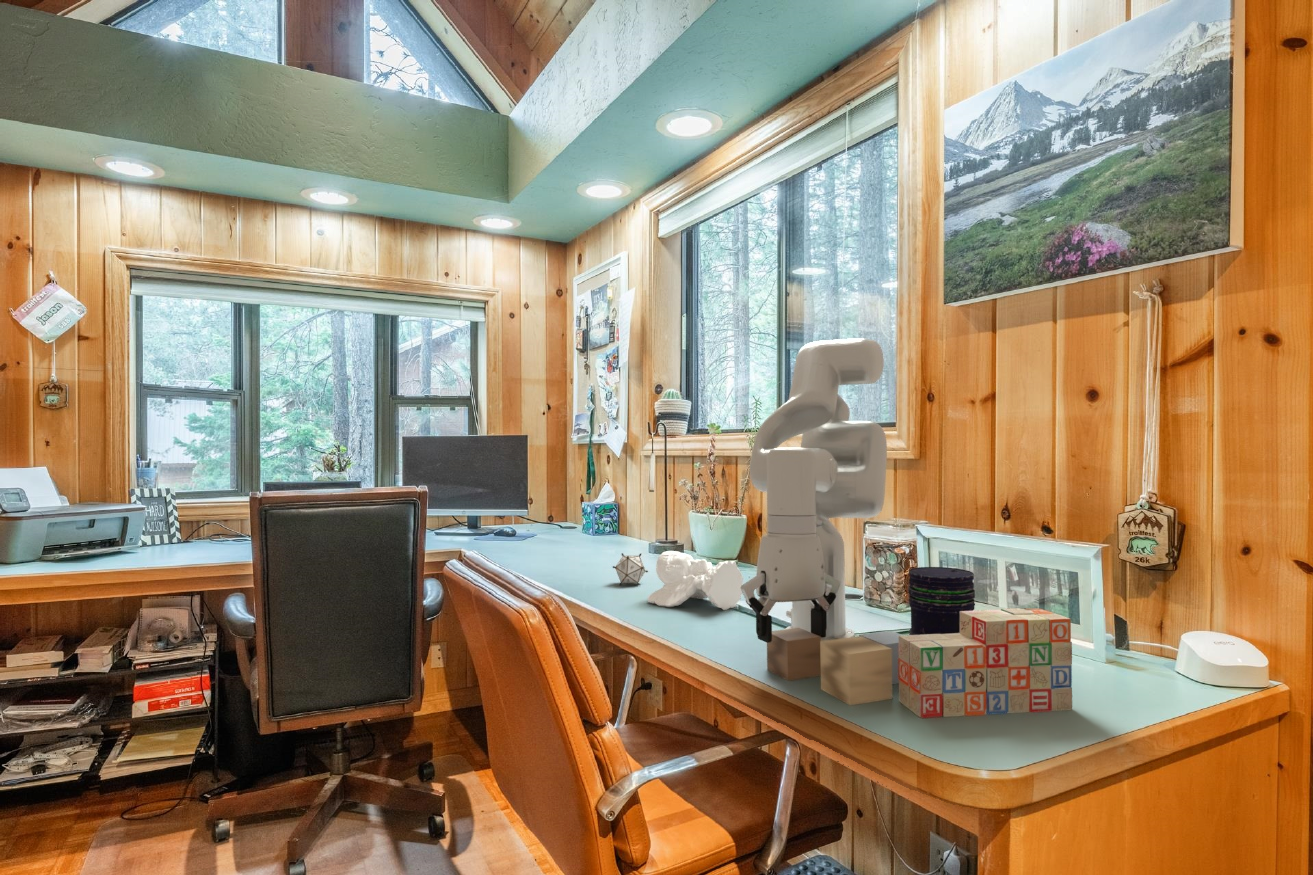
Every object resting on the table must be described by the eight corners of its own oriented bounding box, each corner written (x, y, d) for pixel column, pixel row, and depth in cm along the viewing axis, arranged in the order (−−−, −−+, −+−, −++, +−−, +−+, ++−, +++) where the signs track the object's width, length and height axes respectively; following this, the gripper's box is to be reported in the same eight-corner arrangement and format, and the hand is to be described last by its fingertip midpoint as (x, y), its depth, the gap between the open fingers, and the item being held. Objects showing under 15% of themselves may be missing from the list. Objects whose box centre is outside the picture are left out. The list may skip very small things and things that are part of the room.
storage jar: (943, 679, 107) (942, 579, 107) (895, 662, 116) (894, 569, 116) (990, 670, 111) (989, 574, 111) (941, 654, 120) (939, 564, 120)
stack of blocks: (920, 719, 92) (918, 623, 92) (898, 702, 98) (896, 612, 98) (1073, 710, 94) (1071, 616, 94) (1042, 694, 100) (1040, 606, 101)
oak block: (820, 689, 103) (820, 641, 103) (861, 683, 106) (860, 636, 106) (850, 705, 97) (849, 654, 97) (892, 698, 99) (891, 648, 99)
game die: (636, 597, 185) (658, 565, 187) (629, 592, 177) (652, 558, 180) (609, 579, 188) (631, 547, 190) (601, 572, 181) (624, 540, 183)
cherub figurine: (705, 567, 148) (640, 547, 162) (702, 625, 149) (637, 601, 163) (745, 558, 157) (680, 540, 171) (742, 613, 158) (677, 591, 172)
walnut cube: (767, 669, 113) (766, 631, 113) (799, 665, 115) (799, 627, 115) (787, 681, 107) (787, 641, 107) (821, 675, 109) (820, 636, 110)
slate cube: (859, 673, 110) (859, 634, 110) (891, 668, 113) (890, 630, 113) (885, 685, 105) (884, 644, 105) (918, 680, 107) (917, 639, 107)
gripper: (823, 524, 118) (824, 629, 117) (730, 526, 111) (730, 637, 110) (852, 527, 111) (853, 638, 110) (754, 529, 104) (754, 648, 103)
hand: (791, 638), depth 110 cm, fingers open, 9 cm apart
